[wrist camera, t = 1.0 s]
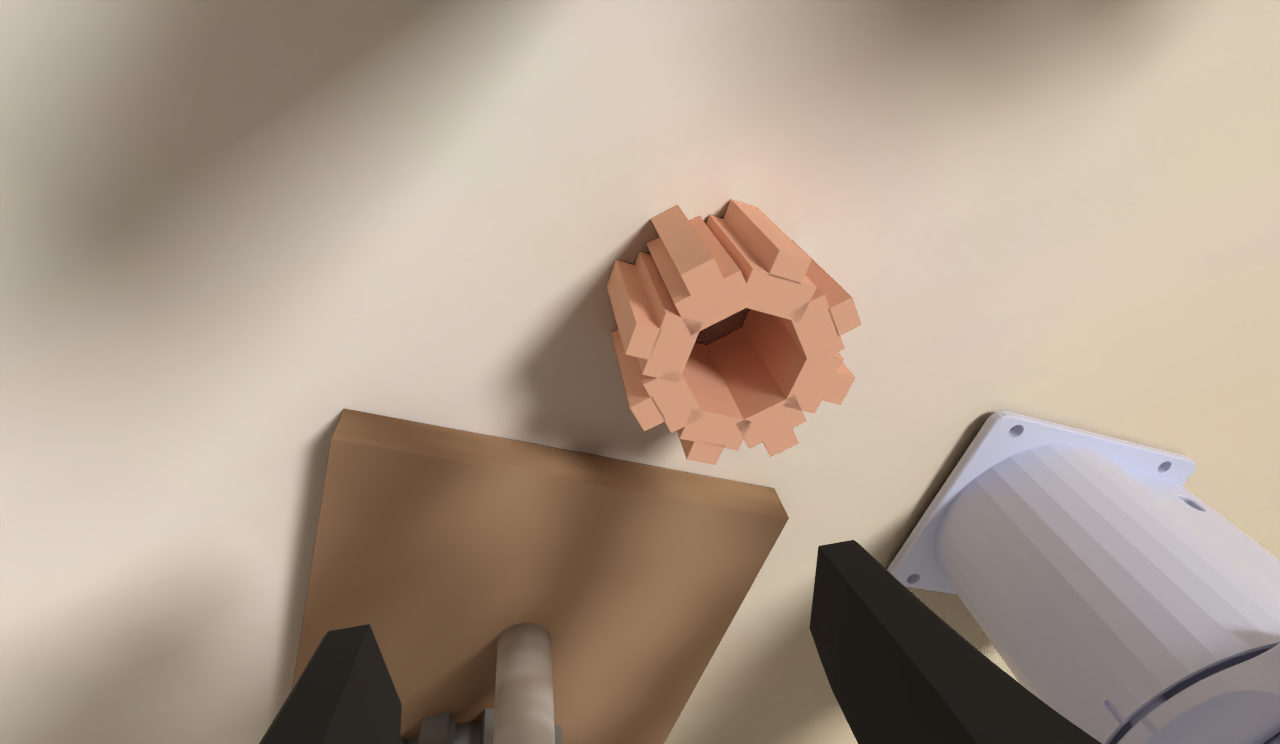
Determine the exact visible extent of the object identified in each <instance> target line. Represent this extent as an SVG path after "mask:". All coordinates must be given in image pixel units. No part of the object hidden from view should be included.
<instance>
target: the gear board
mask: <svg viewBox="0 0 1280 744" xmlns="http://www.w3.org/2000/svg"><path fill="white" fill-rule="evenodd" d="M788 519H789V517H788V515H787V513H786V511H785V509H784V507H783V505H782V503H781V501H780V499H779V497H778V495H777V493H776V491H775V489H774V488H768V487H763V486H758V485H752V484H747V483H741V482H736V481H731V480H725V479H720V478H715V477H709V476H704V475H698V474H693V473H688V472H682V471H677V470H671V469H666V468H661V467H655V466H650V465H644V464H639V463H634V462H628V461H623V460H618V459H612V458H607V457H601V456H596V455H591V454H585V453H580V452H574V451H569V450H564V449H558V448H553V447H547V446H542V445H537V444H531V443H526V442H521V441H515V440H510V439H504V438H499V437H494V436H488V435H483V434H477V433H472V432H467V431H461V430H456V429H451V428H445V427H440V426H434V425H429V424H424V423H418V422H413V421H407V420H402V419H397V418H391V417H386V416H380V415H375V414H370V413H364V412H359V411H354V410H348V409H344V410H343V412H342V415H341V417H340V419H339V422H338V424H337V427H336V429H335V431H334V434H333V436H332V438H331V444H330V450H329V457H328V463H327V469H326V476H325V482H324V489H323V495H322V502H321V508H320V514H319V521H318V527H317V534H316V540H315V547H314V553H313V560H312V566H311V572H310V579H309V585H308V592H307V598H306V605H305V611H304V617H303V624H302V630H301V637H300V643H299V650H298V656H297V663H296V669H295V675H294V682H293V688H294V686H295V685H296V683H297V681H298V679H299V678H300V676H301V674H302V673H303V671H304V669H305V668H306V666H307V664H308V662H309V661H310V659H311V657H312V656H313V654H314V652H315V650H316V649H317V647H318V645H319V643H320V642H321V640H322V638H323V637H324V636H325V635H326V633H327V632H328V631H332V630H338V629H344V628H350V627H355V626H361V625H367V624H370V626H371V629H372V631H373V634H374V636H375V639H376V641H377V644H378V646H379V649H380V651H381V654H382V656H383V659H384V661H385V664H386V666H387V669H388V671H389V674H390V676H391V679H392V681H393V684H394V686H395V689H396V691H397V694H398V696H399V699H400V701H401V704H402V711H401V730H400V744H664V742H665V741H666V739H667V737H668V735H669V733H670V732H671V730H672V728H673V726H674V724H675V723H676V721H677V719H678V717H679V715H680V714H681V712H682V710H683V708H684V706H685V704H686V703H687V701H688V699H689V697H690V695H691V694H692V692H693V690H694V688H695V686H696V685H697V683H698V681H699V679H700V677H701V676H702V674H703V672H704V670H705V668H706V667H707V665H708V663H709V661H710V659H711V658H712V656H713V654H714V652H715V650H716V649H717V647H718V645H719V643H720V641H721V640H722V638H723V636H724V634H725V632H726V631H727V629H728V627H729V625H730V623H731V621H732V620H733V618H734V616H735V614H736V612H737V611H738V609H739V607H740V605H741V603H742V602H743V600H744V598H745V596H746V594H747V593H748V591H749V589H750V587H751V585H752V584H753V582H754V580H755V578H756V576H757V575H758V573H759V571H760V569H761V567H762V566H763V564H764V562H765V560H766V558H767V557H768V555H769V553H770V551H771V549H772V548H773V546H774V544H775V542H776V540H777V539H778V537H779V535H780V533H781V531H782V529H783V528H784V526H785V524H786V522H787V520H788ZM293 688H292V690H293Z"/></svg>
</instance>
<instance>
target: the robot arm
mask: <svg viewBox="0 0 1280 744" xmlns="http://www.w3.org/2000/svg"><path fill="white" fill-rule="evenodd" d="M1014 426H1015V427H1014ZM1012 427H1014V428H1013V429H1011V428H1012ZM1010 429H1011V430H1010ZM1195 467H1196V464H1195V462H1194V461H1193V460H1191V459H1190V458H1189V457H1187V456H1185V455H1182V454H1178V453H1174V452H1170V451H1166V450H1162V449H1158V448H1154V447H1150V446H1146V445H1142V444H1138V443H1134V442H1130V441H1126V440H1122V439H1118V438H1114V437H1110V436H1106V435H1102V434H1098V433H1094V432H1090V431H1086V430H1082V429H1078V428H1074V427H1070V426H1066V425H1062V424H1058V423H1054V422H1050V421H1046V420H1042V419H1038V418H1034V417H1030V416H1026V415H1022V414H1018V413H1014V412H1010V411H1002V410H1001V411H998V412H995V413H994V414H992V415H991V416H990V417H989V418H988V419H987V420H986V422H985V423H984V425H983V426H982V428H981V429H980V431H979V432H978V434H977V435H976V437H975V438H974V440H973V441H972V443H971V444H970V446H969V447H968V449H967V450H966V452H965V453H964V455H963V456H962V458H961V459H960V461H959V462H958V464H957V465H956V467H955V468H954V470H953V471H952V473H951V474H950V476H949V477H948V479H947V480H946V482H945V483H944V485H943V486H942V488H941V489H940V491H939V492H938V494H937V495H936V497H935V498H934V500H933V501H932V503H931V504H930V506H929V507H928V509H927V510H926V512H925V513H924V515H923V516H922V518H921V519H920V521H919V522H918V524H917V525H916V527H915V528H914V530H913V531H912V533H911V534H910V536H909V537H908V539H907V540H906V542H905V543H904V545H903V546H902V548H901V549H900V551H899V552H898V554H897V555H896V557H895V558H894V560H893V561H892V563H891V564H890V566H889V567H888V569H887V570H886V569H885V568H884V567H883V566H882V565H881V564H880V563H879V562H878V561H877V560H876V559H875V558H873V557H872V556H871V555H870V554H869V553H868V552H867V551H866V550H865V549H864V548H863V547H862V546H861V545H859V544H858V543H857V542H856V541H854V540H851V541H845V542H839V543H834V544H828V545H822V546H819V548H818V557H817V566H816V575H815V584H814V593H813V603H812V612H811V621H810V630H811V633H812V636H813V639H814V642H815V645H816V648H817V650H818V653H819V656H820V659H821V662H822V664H823V667H824V670H825V672H826V675H827V678H828V680H829V683H830V686H831V688H832V691H833V693H834V695H835V697H836V699H837V701H838V703H839V705H840V707H841V709H842V711H843V713H844V716H845V718H846V720H847V722H848V724H849V726H850V728H851V730H852V732H853V734H854V736H855V738H856V740H857V742H858V744H1280V560H1279V559H1277V558H1276V557H1275V556H1273V555H1272V554H1271V553H1269V552H1268V551H1267V550H1266V549H1264V548H1263V547H1262V546H1260V545H1259V544H1258V543H1256V542H1255V541H1254V540H1252V539H1251V538H1250V537H1248V536H1247V535H1246V534H1245V533H1243V532H1242V531H1241V530H1239V529H1238V528H1237V527H1235V526H1234V525H1233V524H1231V523H1230V522H1229V521H1228V520H1226V519H1225V518H1224V517H1222V516H1221V515H1220V514H1218V513H1217V512H1216V511H1214V510H1213V509H1212V508H1210V507H1209V506H1208V505H1207V504H1205V503H1204V502H1203V501H1201V500H1200V499H1199V498H1197V497H1196V496H1195V495H1193V494H1192V493H1191V492H1190V491H1188V490H1187V489H1186V488H1184V487H1183V486H1182V485H1183V484H1184V483H1185V482H1186V481H1187V479H1188V478H1189V477H1190V476H1191V475H1192V474H1193V472H1194V471H1195ZM906 587H910V588H916V589H923V590H930V591H937V592H943V593H950V594H957V595H958V597H959V598H960V600H961V601H962V602H963V604H964V605H965V607H966V608H967V609H968V611H969V612H970V614H971V615H972V616H973V618H974V619H975V621H976V622H977V624H978V625H979V626H980V628H981V629H982V631H983V632H984V633H985V635H986V636H987V638H988V639H989V640H990V642H991V643H992V645H993V646H994V648H995V649H996V650H997V652H998V653H999V655H1000V656H1001V657H1002V659H1003V660H1004V662H1005V663H1006V664H1007V666H1008V667H1009V669H1010V670H1011V672H1012V673H1013V674H1014V676H1015V677H1016V679H1017V680H1018V681H1019V683H1018V682H1017V681H1016V680H1014V679H1013V678H1012V677H1011V676H1009V675H1008V674H1007V673H1006V672H1004V671H1003V670H1002V669H1000V668H999V667H998V666H997V665H995V664H994V663H993V662H992V661H991V660H989V659H988V658H987V657H986V656H984V655H983V654H982V653H981V652H980V651H978V650H977V649H976V648H975V647H974V646H972V645H971V644H970V643H969V642H968V641H966V640H965V639H964V638H963V637H962V636H961V635H959V634H958V633H957V632H956V631H955V630H954V629H952V628H951V627H950V626H949V625H948V624H947V623H945V622H944V621H943V620H942V619H941V618H940V617H938V616H937V615H936V614H935V613H934V612H933V611H932V610H930V609H929V608H928V607H927V606H926V605H925V604H924V603H923V602H921V601H920V600H919V599H918V598H917V597H916V596H915V595H914V594H913V593H911V592H910V591H909V590H908V589H907V588H906ZM401 711H402V704H401V701H400V699H399V696H398V694H397V691H396V689H395V686H394V684H393V681H392V679H391V676H390V674H389V671H388V669H387V666H386V664H385V661H384V659H383V656H382V654H381V651H380V649H379V646H378V644H377V641H376V639H375V636H374V634H373V631H372V629H371V626H370V624H367V625H361V626H355V627H350V628H344V629H338V630H332V631H328V632H327V633H326V635H325V636H324V637H323V638H322V640H321V642H320V643H319V645H318V647H317V649H316V650H315V652H314V654H313V656H312V657H311V659H310V661H309V662H308V664H307V666H306V668H305V669H304V671H303V673H302V674H301V676H300V678H299V679H298V681H297V683H296V685H295V686H294V688H293V690H292V691H291V693H290V695H289V696H288V698H287V700H286V701H285V703H284V705H283V706H282V708H281V709H280V711H279V713H278V714H277V716H276V718H275V719H274V721H273V723H272V724H271V726H270V727H269V729H268V731H267V732H266V734H265V735H264V737H263V739H262V740H261V742H260V743H259V744H400V730H401Z"/></svg>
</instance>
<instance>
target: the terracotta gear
mask: <svg viewBox="0 0 1280 744" xmlns="http://www.w3.org/2000/svg"><path fill="white" fill-rule="evenodd" d="M651 221H652V223H653V225H654V227H655V229H656V231H657V233H658V235H659V237H658V238H656V239H654V240H652V241H650V242H648V243H646V244H647V247H648V249H649V251H650V253H651V255H650V254H646V253H643V252H639V254H638V257H637V260H636V262H635V265H633V264H629V263H626V262H622V261H618V260H615V263H614V266H613V269H612V272H611V275H610V278H609V281H608V284H607V289H608V293H609V296H610V300H611V304H612V307H613V311H614V315H615V318H616V322H617V326H618V329H617V330H615V331H613V332H611V334H612V338H613V342H614V346H615V350H616V354H617V358H618V362H619V366H620V370H621V375H622V379H623V383H624V387H625V391H626V395H627V399H628V403H629V407H630V409H631V411H632V412H633V414H634V415H635V417H636V419H637V420H638V422H639V424H640V425H641V427H642V428H643V430H644V431H646V430H649V429H651V428H653V427H655V426H657V425H659V424H661V423H663V422H665V423H666V425H667V426H668V428H669V430H670V432H671V433H673V432H675V431H677V432H678V435H679V438H680V441H681V444H682V447H683V450H684V453H685V455H686V458H687V459H689V460H694V461H699V462H704V463H709V464H715V465H716V463H717V460H718V458H719V456H720V454H721V452H722V450H723V448H729V449H734V450H738V449H739V447H740V445H741V443H742V441H743V439H744V441H745V443H746V445H747V446H748V448H751V447H753V446H756V445H758V444H760V443H762V442H763V444H764V446H765V447H766V449H767V451H768V453H769V455H770V457H771V456H773V455H775V454H777V453H779V452H781V451H784V450H786V449H788V448H790V447H792V446H794V445H796V444H798V440H797V438H796V436H795V434H794V432H793V429H792V428H793V427H795V426H797V425H799V424H801V423H803V422H806V419H805V417H804V414H803V412H802V411H806V412H811V413H815V412H816V410H817V408H818V406H819V404H820V402H821V400H823V401H827V402H832V403H836V404H840V405H841V403H842V401H843V399H844V397H845V396H846V394H847V392H848V390H849V388H850V386H851V385H852V383H853V381H854V379H855V377H854V375H853V374H852V373H851V372H850V371H849V370H848V368H847V367H846V366H845V365H844V364H843V362H842V361H843V358H842V356H841V355H840V354H839V353H838V351H840V350H842V349H845V348H844V345H843V343H842V340H841V337H840V335H842V334H844V333H846V332H848V331H850V330H852V329H854V328H856V327H858V326H860V325H861V322H860V319H859V316H858V313H857V310H856V307H855V304H854V302H853V299H852V297H851V296H850V295H849V294H848V293H847V292H846V291H845V290H844V289H843V288H842V287H841V286H840V285H839V284H838V283H837V282H836V281H835V280H833V279H832V278H831V277H830V276H829V275H828V274H827V273H826V272H825V271H824V270H823V269H822V268H821V267H820V266H819V265H818V264H817V263H816V262H815V261H814V260H813V259H812V258H810V257H809V256H808V255H807V254H806V253H805V252H804V251H803V250H802V249H801V248H800V247H799V246H798V245H797V244H796V243H795V242H794V241H793V240H791V239H790V238H789V237H788V236H787V235H785V234H784V233H783V232H782V231H781V230H780V229H779V228H778V227H777V226H776V225H775V224H774V223H773V222H772V221H771V220H770V219H769V218H768V217H767V216H766V215H765V214H764V213H763V212H762V211H761V210H759V209H758V208H757V207H754V206H751V205H747V204H744V203H741V202H738V201H735V200H732V199H731V200H730V203H729V205H728V208H727V210H726V213H725V215H724V218H723V219H722V218H719V217H716V216H713V215H709V218H708V220H707V223H706V224H705V222H704V221H703V220H702V218H701V217H700V216H698V217H696V218H694V219H692V220H690V221H689V220H688V219H687V218H686V216H685V215H684V213H683V212H682V210H681V209H680V208H679V206H678V205H676V206H675V207H673V208H671V209H669V210H667V211H665V212H663V213H661V214H659V215H658V216H656V217H654V218H652V219H651ZM745 308H748V309H750V310H749V312H748V314H747V316H746V319H745V321H744V323H743V325H742V327H741V328H739V329H737V330H735V331H733V332H731V333H729V334H727V335H725V336H723V337H721V338H719V339H717V340H715V341H713V342H712V343H710V344H708V345H704V344H700V343H696V342H695V341H696V339H697V336H698V334H699V331H701V330H703V329H705V328H707V327H709V326H711V325H713V324H715V323H717V322H719V321H721V320H723V319H725V318H727V317H729V316H731V315H733V314H735V313H737V312H739V311H741V310H743V309H745Z"/></svg>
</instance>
